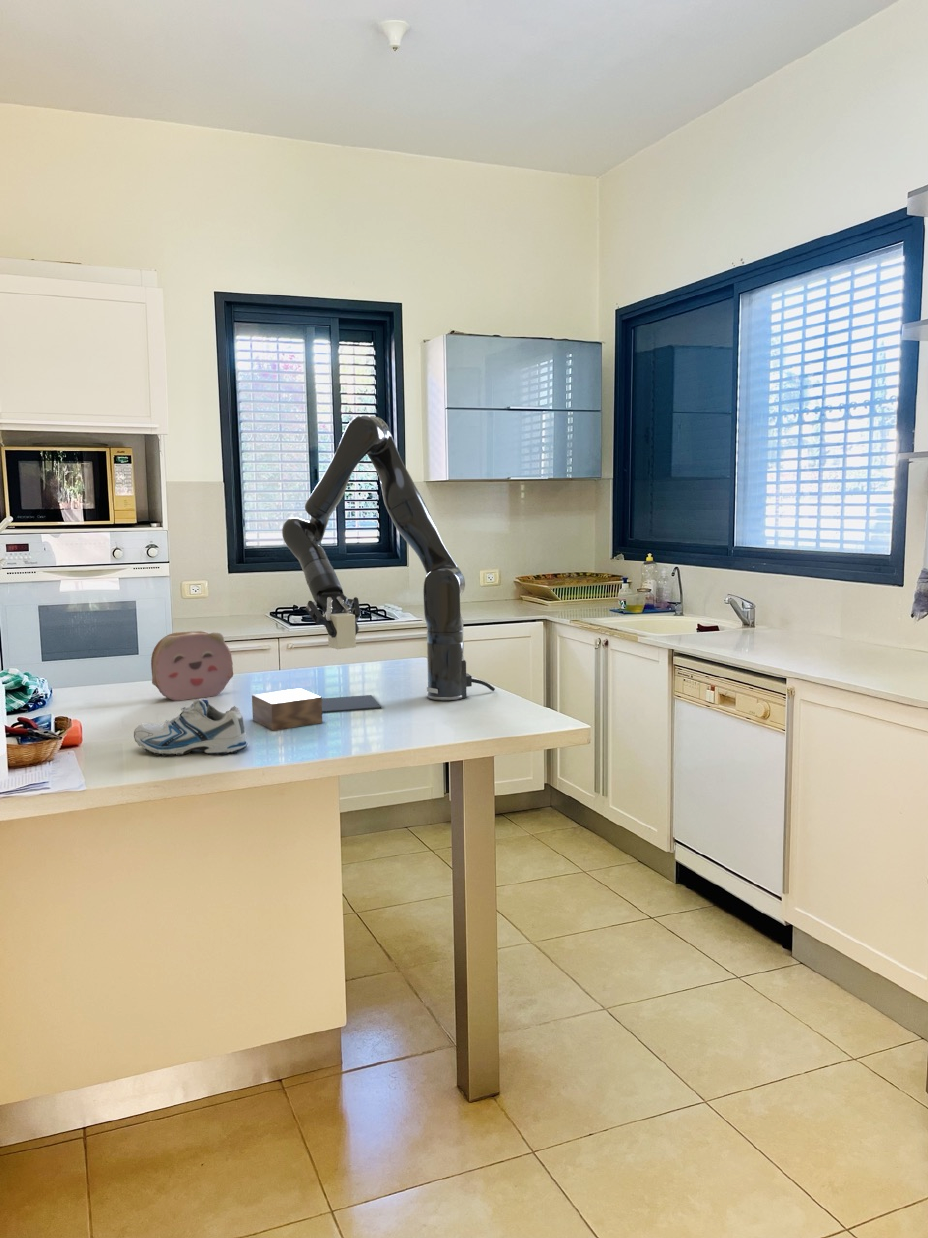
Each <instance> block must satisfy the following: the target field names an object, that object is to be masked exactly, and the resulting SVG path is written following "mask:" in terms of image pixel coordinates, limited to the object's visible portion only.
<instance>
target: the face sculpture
mask: <svg viewBox="0 0 928 1238" xmlns="http://www.w3.org/2000/svg"><path fill="white" fill-rule="evenodd" d="M150 667H151V668H150V671H151V684H152V685H153V686H155V687H156V689H157V690H158V691H159V693H160V694H161V696H163V697H165V698H167V699H169V700H171V701H173V702H174V701H176V702H177V701H183V700H193V699H195V700H196V699H204V698H209V697H216V696H218V695H219V694H220V693H221V692H223V691H224V690H225V689H226V686H227V685H228V683H230V680H231V679H232V678H233V677H234V665H233V655H232V651H231V649H230V648H229V646H228V645H227V643H226V641H225V637H224V635H223V634H222V633H220V632H215V631H214V632H208V631H204V630H190V631H181V632H180V631H179V632H172V633H169V634H167V635H165V636H164V637H162V638H161V639H160V640H159V641H158V642H157V643H156V644H155V646H154V648H153V650H152V653H151V660H150Z"/></svg>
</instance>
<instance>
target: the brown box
mask: <svg viewBox="0 0 928 1238" xmlns="http://www.w3.org/2000/svg"><path fill="white" fill-rule="evenodd" d="M322 698H323V697H322V696H320V695H317V694H315V693H312V692H311V691H308V690H305V689H304V688H301V687H299V688H293V689H292V688H291V689H285V690H277V691H276V690H275V691H270V692H262V693H261V692H260V693H255V694H251V711H252V721H254V722H256V723H258V724H259V725H261V726H263V727H265V728H267V729H269V730H271V731H273V732H274V731H280V730H286V729H292V728H298V727H305V726H312V725H317V724H323V713H322Z"/></svg>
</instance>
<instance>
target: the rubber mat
mask: <svg viewBox="0 0 928 1238" xmlns="http://www.w3.org/2000/svg"><path fill="white" fill-rule="evenodd" d="M378 709H382V706H381V704H380V703H379V702H378V701H377V700H376V698H374V696H373V695H372V694H365V695H352V696H336V697H325V698H324V697H322V714H323V713H338V712H351V711H365V710H378Z"/></svg>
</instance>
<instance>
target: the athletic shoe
mask: <svg viewBox="0 0 928 1238" xmlns="http://www.w3.org/2000/svg"><path fill="white" fill-rule="evenodd" d="M180 710H181V712H180V714H179V715H177V716H176V717H173V718H172V719H171V720H165V722H164V723H163V724H158V723H151V722H147V723H146V722H143V723H139V725H138V726H136V727H135V729H134V731H133V737H134V738H133V739H134V742H135V743H136V744H137V746H139V747H141V748H142V749H143V750H144V751H145V752H146V753H147V752H151V753H152V754H154V755H155V756H161V755H162V756H164V757H166V756H171V757H173V756H175V755H176V756H184V755H188V754H190V753H191V752H192V751H194V750H195V751H196V750H197V751H201V752H204V753H206V754H207V755H209V756H222V755H227V754H229V753H232V754H236V753H238V752H240V751H243V749H245V748H246V747H247V746H248V744H249V742H248V739H247V738H248V736H247V733H246V730H245V723H244V717H243V715H242V714H243V713H242V712H241V710H240V708H239V707H237V706H231V707H230V709H229V710H227V711H226V710H225V712H222V711H220V710H218V709H217V708H216V707H215V706H213V705H212V704H210V703H209V700H208V699H206V698H195V700H194V701H193V702H192V704H191V705H190V706H182V707H181V708H180Z"/></svg>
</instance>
